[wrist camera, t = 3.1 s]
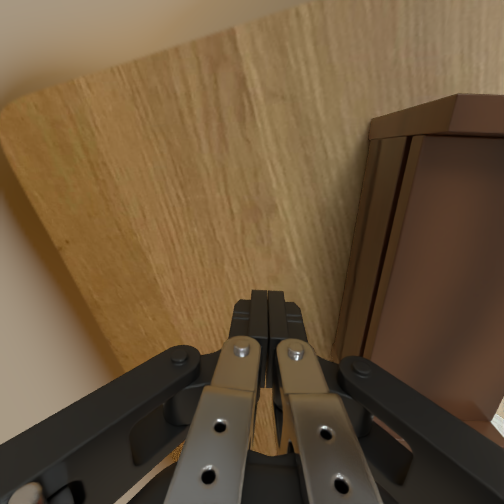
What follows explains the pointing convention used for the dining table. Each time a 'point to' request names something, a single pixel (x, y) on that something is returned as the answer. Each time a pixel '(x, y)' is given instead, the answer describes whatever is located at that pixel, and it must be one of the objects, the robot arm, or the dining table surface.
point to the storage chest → (432, 257)
